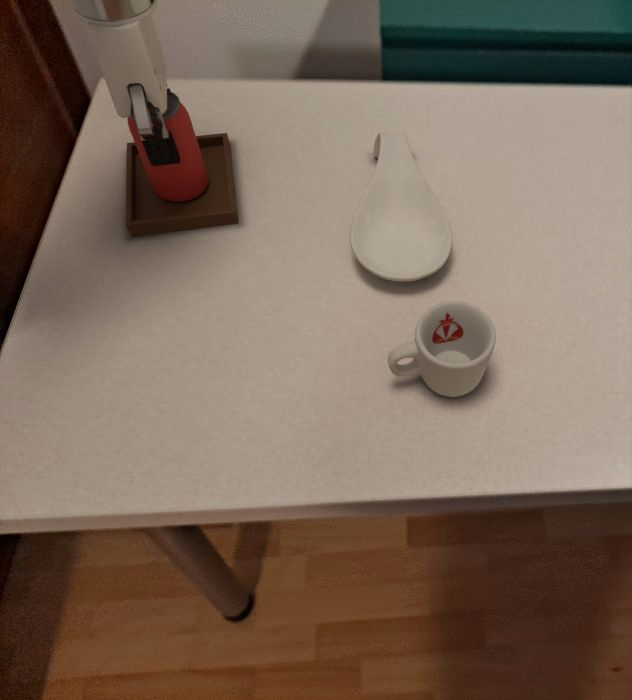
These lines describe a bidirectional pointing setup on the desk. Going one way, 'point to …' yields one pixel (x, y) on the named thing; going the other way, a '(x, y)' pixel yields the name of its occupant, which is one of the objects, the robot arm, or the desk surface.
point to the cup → (448, 348)
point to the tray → (203, 211)
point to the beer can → (190, 172)
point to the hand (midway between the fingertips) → (165, 140)
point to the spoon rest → (399, 217)
